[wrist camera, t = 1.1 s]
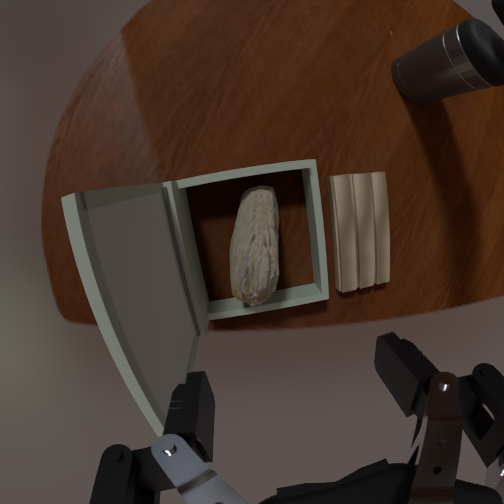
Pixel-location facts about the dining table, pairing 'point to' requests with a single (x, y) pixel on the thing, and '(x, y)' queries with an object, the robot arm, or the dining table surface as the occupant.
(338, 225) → the slatted stand
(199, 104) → the dining table surface
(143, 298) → the cold frame
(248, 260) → the fossil tooth
